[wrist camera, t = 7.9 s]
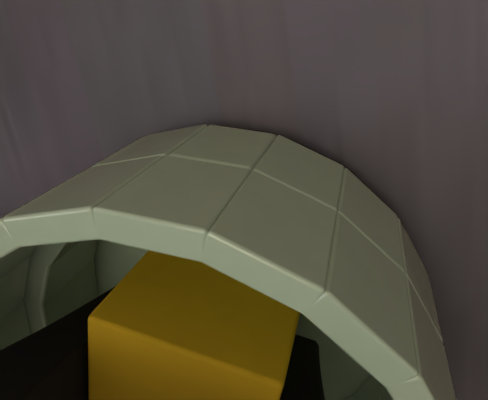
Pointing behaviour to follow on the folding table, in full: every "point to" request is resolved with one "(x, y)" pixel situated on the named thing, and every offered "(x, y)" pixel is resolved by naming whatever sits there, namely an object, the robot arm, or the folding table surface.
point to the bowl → (238, 250)
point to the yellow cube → (187, 336)
